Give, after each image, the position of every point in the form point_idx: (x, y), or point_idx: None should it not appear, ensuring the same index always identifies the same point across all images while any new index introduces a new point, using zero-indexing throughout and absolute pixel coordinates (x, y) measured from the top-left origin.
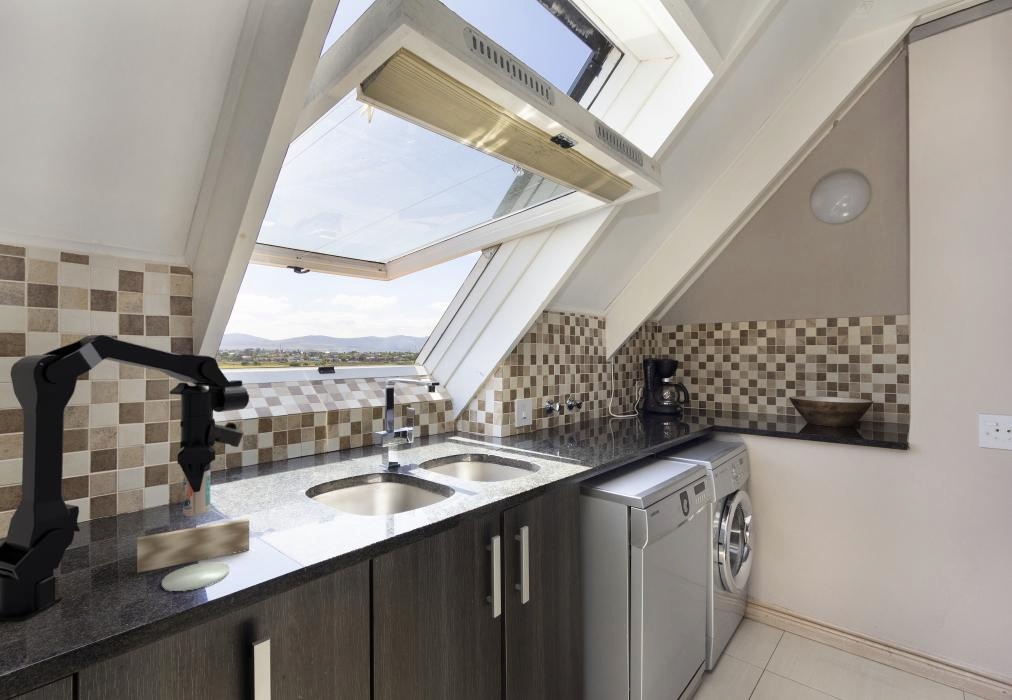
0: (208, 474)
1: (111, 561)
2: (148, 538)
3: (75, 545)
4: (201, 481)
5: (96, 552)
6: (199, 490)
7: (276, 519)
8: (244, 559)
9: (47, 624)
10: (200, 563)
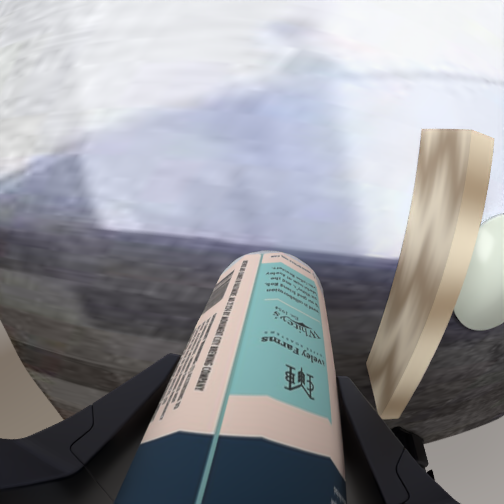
0: (304, 415)
1: None
2: (407, 402)
3: None
4: (381, 422)
5: None
6: (348, 380)
7: (187, 4)
8: None
9: (455, 420)
10: None
